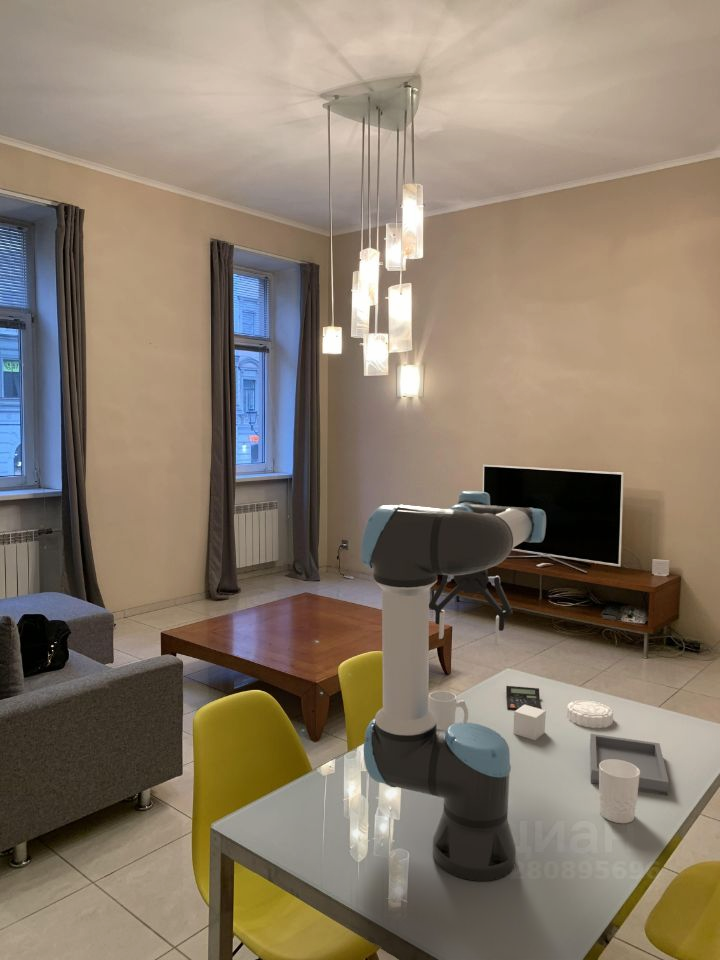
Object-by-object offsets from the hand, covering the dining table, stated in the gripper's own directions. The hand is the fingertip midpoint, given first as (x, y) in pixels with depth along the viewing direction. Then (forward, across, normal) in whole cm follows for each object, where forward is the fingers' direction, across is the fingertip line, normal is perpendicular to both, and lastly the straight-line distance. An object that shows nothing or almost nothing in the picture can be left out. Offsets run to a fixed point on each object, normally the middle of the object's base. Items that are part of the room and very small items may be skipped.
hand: (468, 640), depth 178 cm
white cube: (+26, -15, -12) cm, 33 cm away
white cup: (+27, -34, +22) cm, 49 cm away
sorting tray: (+26, -38, +1) cm, 46 cm away
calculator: (+26, -13, -32) cm, 43 cm away
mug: (+26, +4, +1) cm, 27 cm away
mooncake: (+26, -30, -27) cm, 48 cm away
